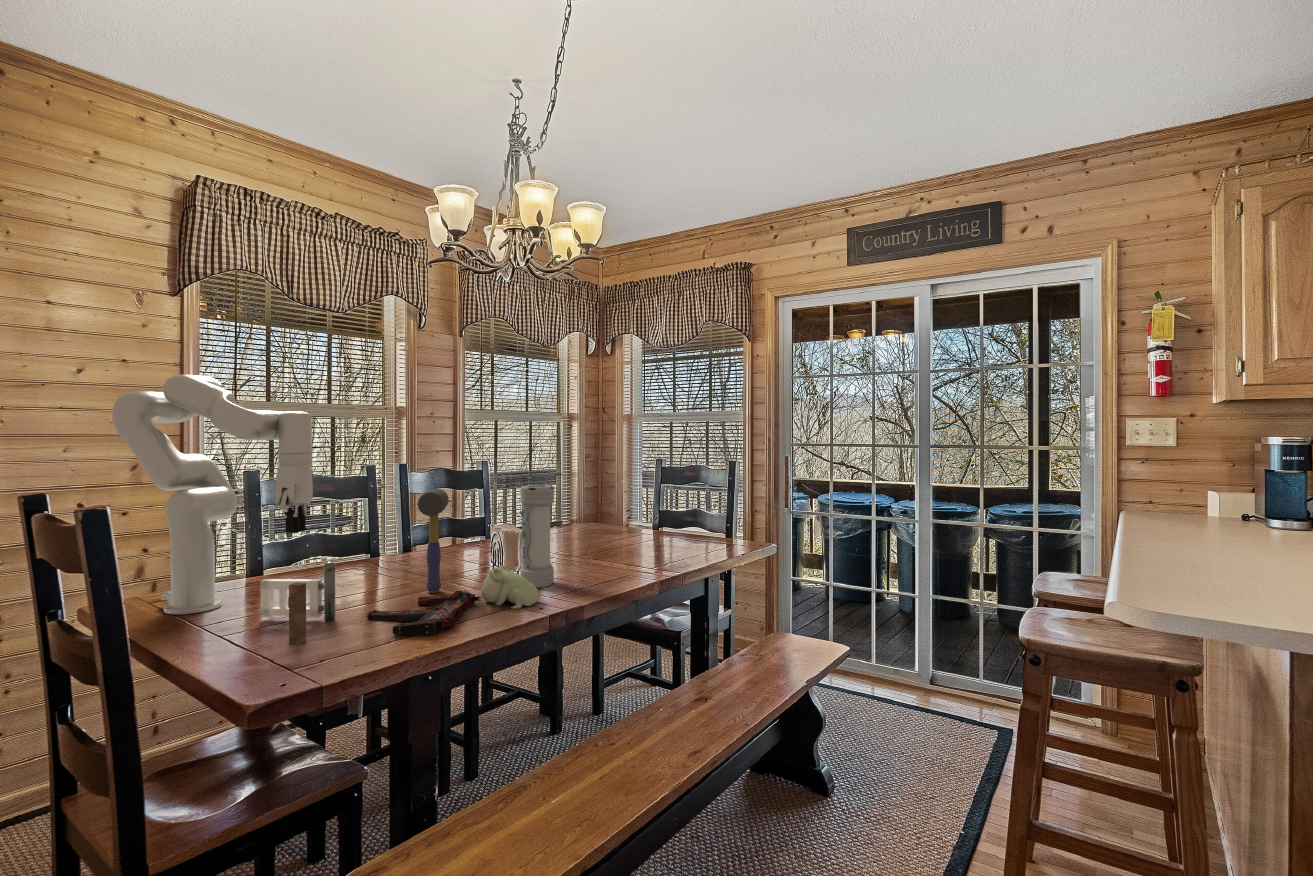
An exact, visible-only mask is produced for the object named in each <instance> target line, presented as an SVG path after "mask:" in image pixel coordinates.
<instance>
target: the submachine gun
mask: <svg viewBox="0 0 1313 876" xmlns="http://www.w3.org/2000/svg"><path fill="white" fill-rule="evenodd" d="M482 598H483V597H482V595H479V596H476V594H475V593H471V592H469V591H468V590H466V589H465V590H455V591H454V592H453V593H451V595H429V596H427V595H426V596H418V598H417V605H420V606H421V605H423V606H424V605H428V606H431V607H426V608H425V609H424V608H423V609H403V610H391V611H390V610H377V609H373V610H371V611H370V612H367V615H366V618H367V621H370V620H371V621H373V620H374V621H393V620H397V621H398V622H405V623H399V624H396V625H393V626H392V635H393V636H395V635H396V636H399V635H400V636H433V635H434V634H436V633H439V632H444V630H445V628H449V629H453V628H454V623H459V622H460V623H461V619H460V618H458V617H459V616H460V615H461V614H462V613H463V612H464V611H465V610H467V608H469V606H470V605H473V604H475V602H481V601H482Z"/></svg>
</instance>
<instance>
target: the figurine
mask: <svg viewBox="0 0 1313 876" xmlns="http://www.w3.org/2000/svg"><path fill="white" fill-rule="evenodd" d="M481 584H482V585H481V590H480V593H481V596H482V597H481V598H482V599H483V601H485V602H486V603H489V604H490V603H491V604H493V605H497V606H502V605H503V604H504V603H505V602H510V603H511V604H514V605H513V606H510V609H511V610H512V609H521V608H522V607H523V606H525V607H526V606H527V607H531V606H532V605H534V604H536V603H537V602H540V592H539V590H538V588H536V587H535V586H534V585H533V584H532V583H530V582H529V581H528V580H527V579H526V578H524V577H523V576H521V574H519V573H517V572H514V571H510V570H507V568H506V566H505V565H502V564H501V565H499V566H498V567H497V566H496V567H494V568H492V569H490V570H489V571H488V576H487V577H486V578H485V579H484V580H483V582H482V583H481Z"/></svg>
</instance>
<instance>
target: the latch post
mask: <svg viewBox="0 0 1313 876" xmlns="http://www.w3.org/2000/svg"><path fill="white" fill-rule="evenodd" d="M287 607H288V608H289V616H288V643H289V645H290V644H293V645H300V644H302V643H305V642H307V616H306V607H307V589H306V583H293V584H290V585H289V589H288V596H287Z"/></svg>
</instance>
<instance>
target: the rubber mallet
mask: <svg viewBox="0 0 1313 876" xmlns="http://www.w3.org/2000/svg"><path fill="white" fill-rule="evenodd" d="M449 500H450V498H449V495H448V493H447V492H446V491H445V490H444V489H441V488H431V489H428V490H426V491H424V492H423V493H422V494H421V495H420V497H419V499H418V501H417V507H418V511H419V512H420V513H422V514H423V515H424V516H427V517H429V522H428V523H429V527H428V528H429V530H428V531H429V539H428V540H429V541H428V544H427V548H426V549H427V551H426V563H427V583H426V589H427V591H428V592H429V593H438V592H440V590H441V588H442V582H441V579H440V578H441V574H440V573H441V571H440V570H441V568H440V566H441V558H442V555H441V544H440V542H439V540H440V539H439V532H440V531H439V514H441V513H442V512H443V511H445V509H446V508H447V506H448V505H449Z"/></svg>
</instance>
